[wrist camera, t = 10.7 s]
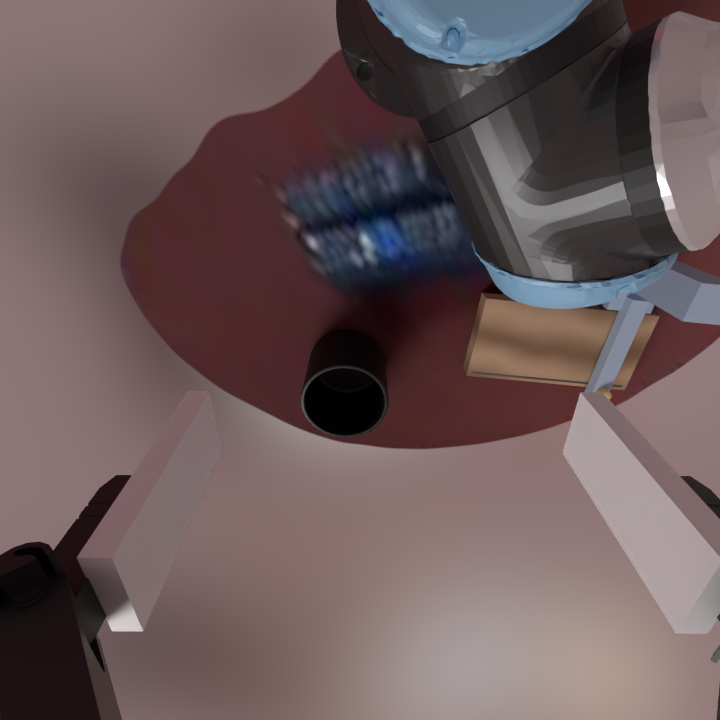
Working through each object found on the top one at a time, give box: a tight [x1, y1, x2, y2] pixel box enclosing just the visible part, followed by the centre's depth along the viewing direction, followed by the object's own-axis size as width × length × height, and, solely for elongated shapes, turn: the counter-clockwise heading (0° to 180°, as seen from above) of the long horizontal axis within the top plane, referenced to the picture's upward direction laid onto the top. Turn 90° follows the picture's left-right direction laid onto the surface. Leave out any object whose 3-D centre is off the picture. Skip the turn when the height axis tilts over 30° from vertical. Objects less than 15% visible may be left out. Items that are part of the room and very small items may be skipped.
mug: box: [301, 330, 388, 437], centre depth 50 cm, size 9×12×9 cm
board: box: [463, 293, 660, 390], centre depth 50 cm, size 10×20×2 cm, turn 84°
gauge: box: [585, 261, 720, 400], centre depth 45 cm, size 18×5×12 cm, turn 174°
